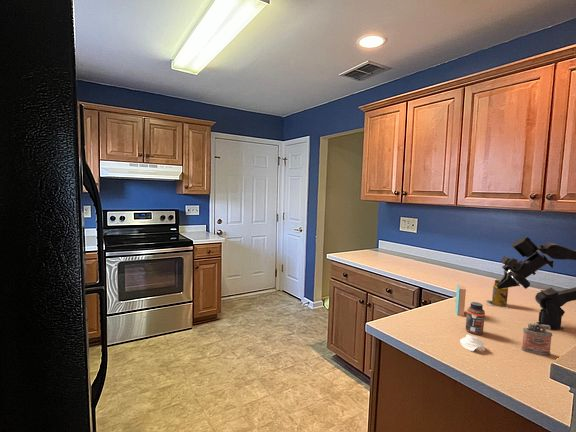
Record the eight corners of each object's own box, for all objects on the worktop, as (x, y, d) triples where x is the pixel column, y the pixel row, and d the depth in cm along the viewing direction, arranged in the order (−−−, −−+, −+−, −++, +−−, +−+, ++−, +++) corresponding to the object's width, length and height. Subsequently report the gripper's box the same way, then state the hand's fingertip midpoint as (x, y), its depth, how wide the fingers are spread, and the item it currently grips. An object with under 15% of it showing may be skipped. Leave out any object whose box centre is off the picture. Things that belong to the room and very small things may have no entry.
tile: (461, 310, 145) (463, 285, 144) (463, 316, 138) (465, 289, 137) (455, 309, 146) (457, 284, 145) (457, 315, 139) (459, 288, 138)
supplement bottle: (476, 336, 119) (478, 307, 118) (461, 329, 125) (464, 301, 124) (486, 333, 122) (489, 305, 121) (472, 327, 127) (474, 300, 126)
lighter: (523, 351, 109) (525, 323, 108) (519, 347, 112) (522, 319, 111) (551, 356, 106) (555, 328, 105) (547, 352, 109) (550, 324, 108)
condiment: (508, 308, 149) (510, 283, 148) (487, 304, 154) (489, 280, 152) (506, 303, 156) (508, 280, 155) (486, 300, 160) (488, 277, 159)
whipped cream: (455, 345, 114) (454, 332, 113) (470, 341, 116) (469, 328, 115) (474, 355, 106) (474, 341, 106) (490, 351, 108) (489, 337, 108)
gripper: (509, 246, 141) (478, 268, 146) (523, 254, 124) (488, 278, 129) (528, 266, 139) (497, 287, 144) (545, 276, 122) (509, 300, 127)
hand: (497, 287), depth 136 cm, fingers closed
